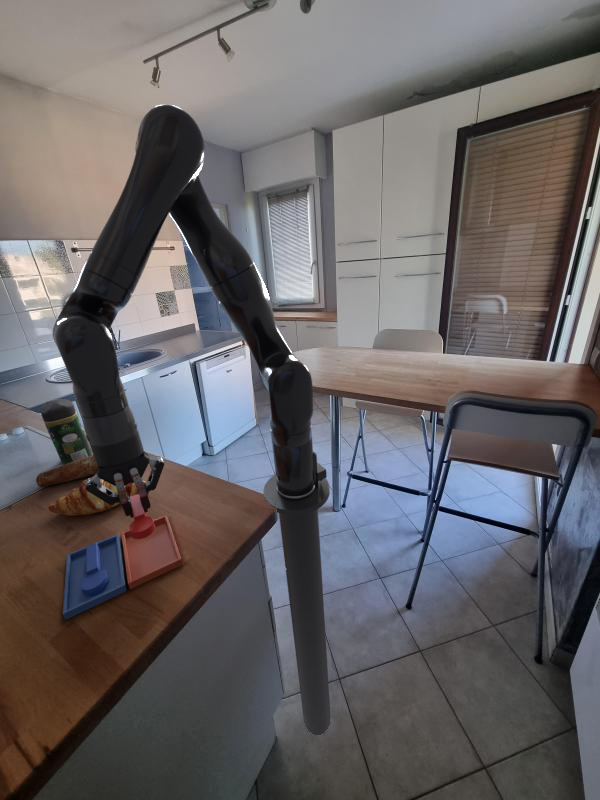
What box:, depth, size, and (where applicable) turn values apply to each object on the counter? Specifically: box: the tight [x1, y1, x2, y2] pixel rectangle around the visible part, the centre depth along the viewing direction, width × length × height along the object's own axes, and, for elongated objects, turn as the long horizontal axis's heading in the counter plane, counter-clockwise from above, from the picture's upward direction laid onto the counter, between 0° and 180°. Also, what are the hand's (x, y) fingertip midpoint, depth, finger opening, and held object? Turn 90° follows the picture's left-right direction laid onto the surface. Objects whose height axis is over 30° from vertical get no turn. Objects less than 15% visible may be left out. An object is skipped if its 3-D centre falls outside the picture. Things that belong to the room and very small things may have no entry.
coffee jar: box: [40, 397, 93, 465], centre depth 95 cm, size 10×8×19 cm
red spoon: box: [128, 494, 155, 539], centre depth 62 cm, size 11×4×2 cm, turn 31°
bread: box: [35, 454, 98, 488], centre depth 90 cm, size 6×19×6 cm, turn 112°
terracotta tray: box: [121, 514, 184, 590], centre depth 65 cm, size 9×14×1 cm, turn 31°
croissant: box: [47, 479, 147, 517], centre depth 79 cm, size 21×10×8 cm, turn 113°
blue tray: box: [62, 533, 128, 620], centre depth 61 cm, size 9×14×1 cm, turn 31°
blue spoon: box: [80, 541, 109, 596], centre depth 60 cm, size 11×4×2 cm, turn 31°
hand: (138, 512), depth 64 cm, fingers closed on red spoon, 2 cm apart
